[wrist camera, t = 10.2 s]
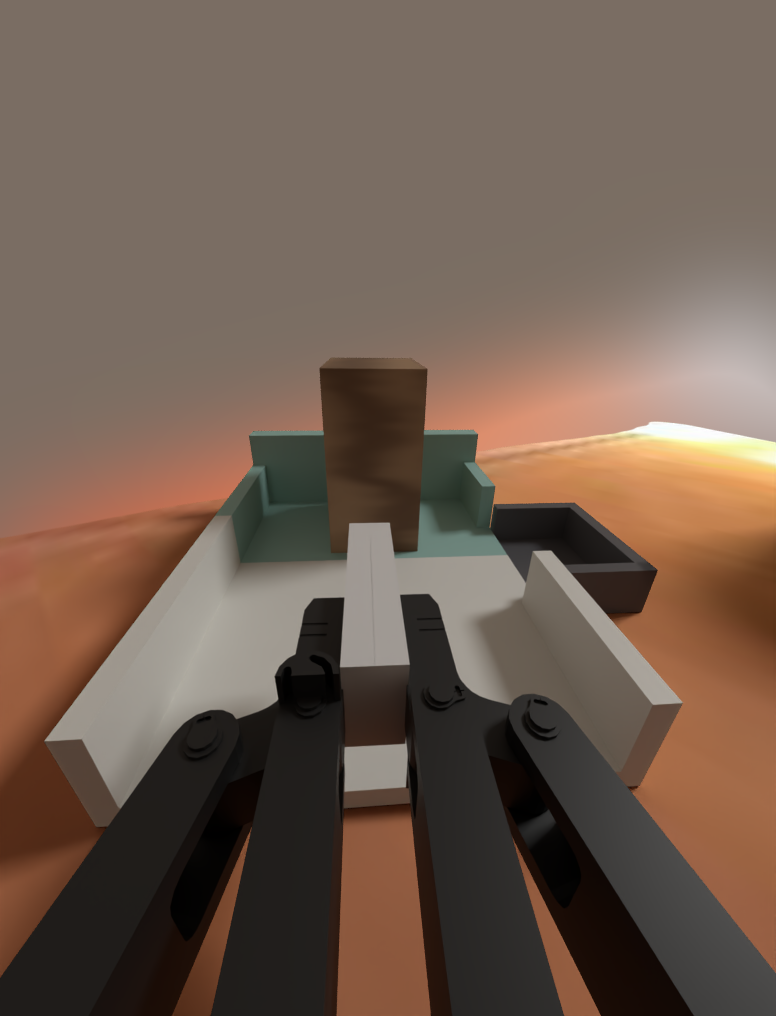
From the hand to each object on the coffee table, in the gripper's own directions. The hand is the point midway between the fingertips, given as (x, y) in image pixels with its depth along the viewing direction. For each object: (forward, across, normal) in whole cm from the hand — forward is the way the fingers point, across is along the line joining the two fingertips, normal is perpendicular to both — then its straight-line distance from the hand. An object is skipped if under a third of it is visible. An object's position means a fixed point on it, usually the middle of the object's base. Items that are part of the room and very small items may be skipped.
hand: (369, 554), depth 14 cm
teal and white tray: (+7, 0, -7) cm, 10 cm away
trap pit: (+9, +13, -7) cm, 17 cm away
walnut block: (+14, 0, -6) cm, 15 cm away
